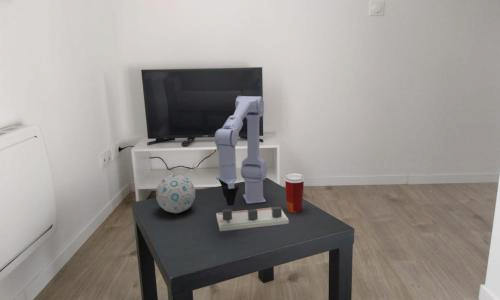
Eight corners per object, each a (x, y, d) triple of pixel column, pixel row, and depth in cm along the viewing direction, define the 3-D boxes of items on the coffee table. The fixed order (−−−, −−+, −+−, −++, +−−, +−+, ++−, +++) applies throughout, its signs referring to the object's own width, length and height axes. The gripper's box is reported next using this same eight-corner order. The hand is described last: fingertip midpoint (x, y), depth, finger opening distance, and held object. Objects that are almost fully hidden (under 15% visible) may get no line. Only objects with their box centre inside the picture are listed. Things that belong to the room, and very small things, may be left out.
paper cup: (305, 206, 150) (305, 173, 146) (302, 214, 143) (303, 180, 139) (286, 205, 152) (286, 172, 148) (282, 213, 145) (282, 178, 141)
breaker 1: (222, 217, 138) (222, 209, 137) (231, 216, 139) (230, 208, 138) (223, 219, 136) (222, 211, 135) (232, 218, 137) (231, 211, 136)
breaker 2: (247, 217, 137) (247, 209, 137) (256, 216, 138) (256, 208, 137) (248, 219, 136) (248, 212, 135) (257, 218, 136) (257, 211, 135)
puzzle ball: (149, 215, 146) (145, 178, 142) (174, 201, 159) (171, 167, 155) (180, 222, 139) (177, 184, 135) (204, 207, 152) (201, 172, 148)
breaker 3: (271, 214, 139) (271, 207, 138) (280, 214, 140) (280, 206, 139) (273, 217, 137) (273, 209, 136) (281, 216, 138) (281, 208, 137)
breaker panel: (216, 216, 143) (216, 213, 142) (279, 210, 147) (279, 206, 147) (219, 231, 132) (219, 227, 131) (288, 223, 136) (288, 219, 136)
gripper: (213, 158, 133) (215, 194, 137) (218, 171, 120) (220, 210, 123) (232, 157, 135) (234, 192, 138) (240, 169, 121) (241, 208, 125)
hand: (228, 201), depth 131 cm, fingers open, 7 cm apart
